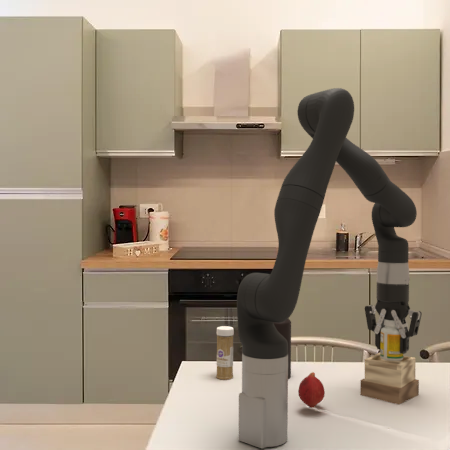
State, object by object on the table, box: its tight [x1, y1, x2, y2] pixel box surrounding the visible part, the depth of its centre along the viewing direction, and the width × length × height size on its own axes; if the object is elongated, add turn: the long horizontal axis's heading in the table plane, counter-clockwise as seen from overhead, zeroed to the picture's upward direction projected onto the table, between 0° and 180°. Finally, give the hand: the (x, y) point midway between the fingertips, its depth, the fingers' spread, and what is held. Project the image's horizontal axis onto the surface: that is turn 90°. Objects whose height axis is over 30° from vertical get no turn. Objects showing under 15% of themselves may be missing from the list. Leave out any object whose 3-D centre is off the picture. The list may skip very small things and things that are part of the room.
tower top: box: [364, 352, 416, 388], centre depth 141 cm, size 9×9×5 cm
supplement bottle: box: [379, 319, 404, 361], centre depth 141 cm, size 5×5×10 cm
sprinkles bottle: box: [215, 325, 235, 381], centre depth 155 cm, size 5×5×13 cm
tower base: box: [359, 378, 420, 405], centre depth 141 cm, size 10×10×4 cm
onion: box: [298, 371, 326, 409], centre depth 132 cm, size 6×6×8 cm
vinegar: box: [273, 317, 292, 380], centre depth 155 cm, size 7×7×20 cm
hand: (391, 350), depth 141 cm, fingers closed on supplement bottle, 5 cm apart
